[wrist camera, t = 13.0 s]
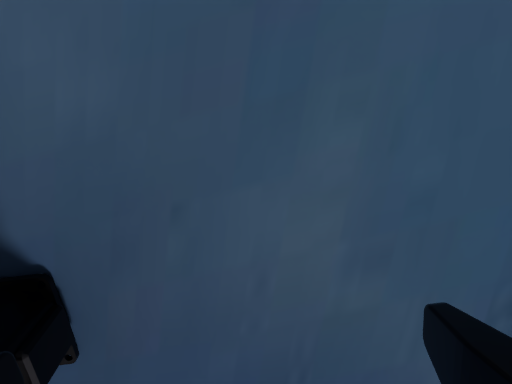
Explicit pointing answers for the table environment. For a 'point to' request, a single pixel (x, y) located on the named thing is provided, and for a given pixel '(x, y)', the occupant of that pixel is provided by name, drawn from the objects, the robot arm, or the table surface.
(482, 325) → the robot arm
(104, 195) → the table surface
